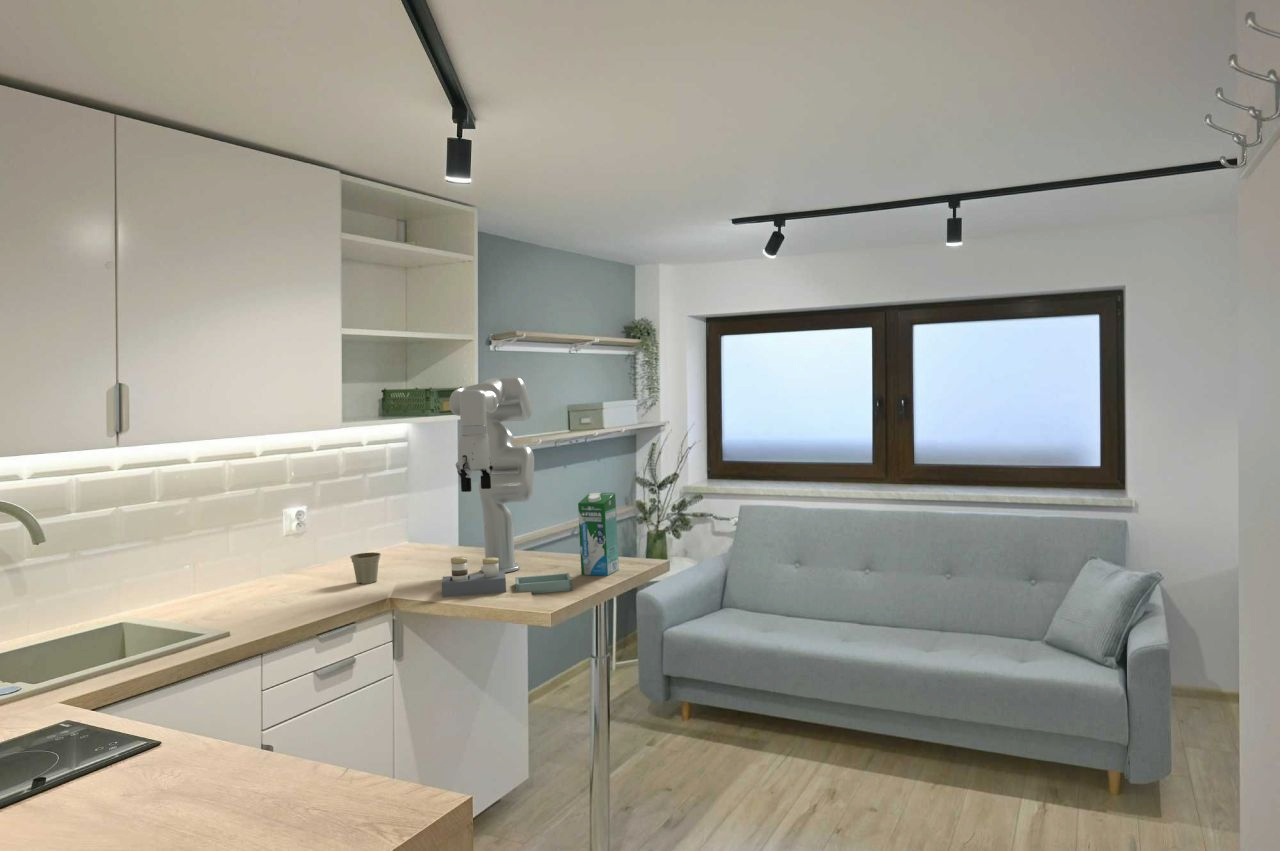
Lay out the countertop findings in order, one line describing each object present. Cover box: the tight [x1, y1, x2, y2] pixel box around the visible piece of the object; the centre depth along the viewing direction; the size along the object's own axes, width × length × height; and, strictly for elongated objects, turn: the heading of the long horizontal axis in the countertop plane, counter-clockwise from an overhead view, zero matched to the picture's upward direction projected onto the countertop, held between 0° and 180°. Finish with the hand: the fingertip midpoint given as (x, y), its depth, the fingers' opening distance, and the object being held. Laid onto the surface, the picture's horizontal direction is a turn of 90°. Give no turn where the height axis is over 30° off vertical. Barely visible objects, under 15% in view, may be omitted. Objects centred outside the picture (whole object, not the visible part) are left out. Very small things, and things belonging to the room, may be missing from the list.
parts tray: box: [514, 573, 573, 595], centre depth 261 cm, size 10×16×3 cm, turn 100°
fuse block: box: [441, 557, 507, 598], centre depth 258 cm, size 9×18×10 cm, turn 100°
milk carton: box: [577, 492, 619, 577], centre depth 281 cm, size 9×9×25 cm
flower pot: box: [349, 552, 382, 585], centre depth 281 cm, size 9×9×9 cm
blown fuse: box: [450, 556, 469, 581], centre depth 257 cm, size 5×5×10 cm
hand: (476, 490), depth 260 cm, fingers open, 9 cm apart
